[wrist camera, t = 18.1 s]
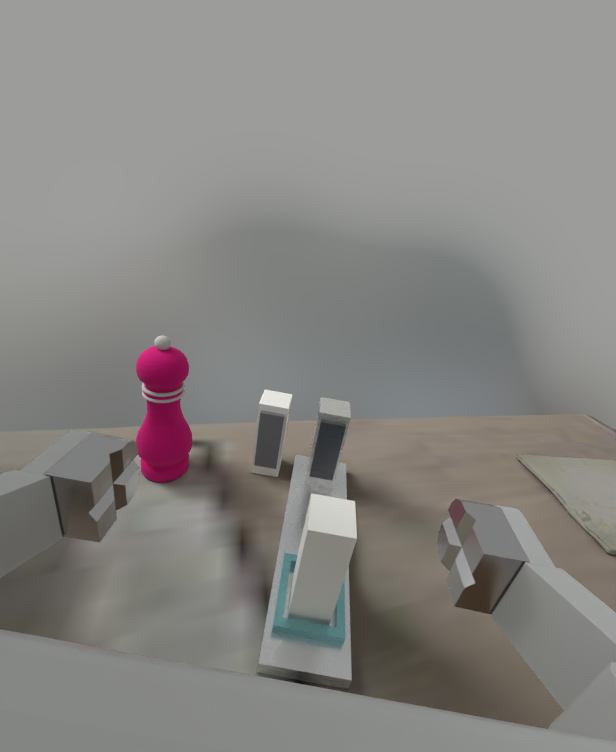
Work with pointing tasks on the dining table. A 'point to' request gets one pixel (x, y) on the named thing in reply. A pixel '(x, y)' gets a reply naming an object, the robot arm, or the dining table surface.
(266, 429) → the block
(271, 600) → the rail
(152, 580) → the dining table surface
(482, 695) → the dining table surface
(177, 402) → the pepper mill
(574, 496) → the decorative slab
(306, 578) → the tall white upright block
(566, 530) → the dining table surface
